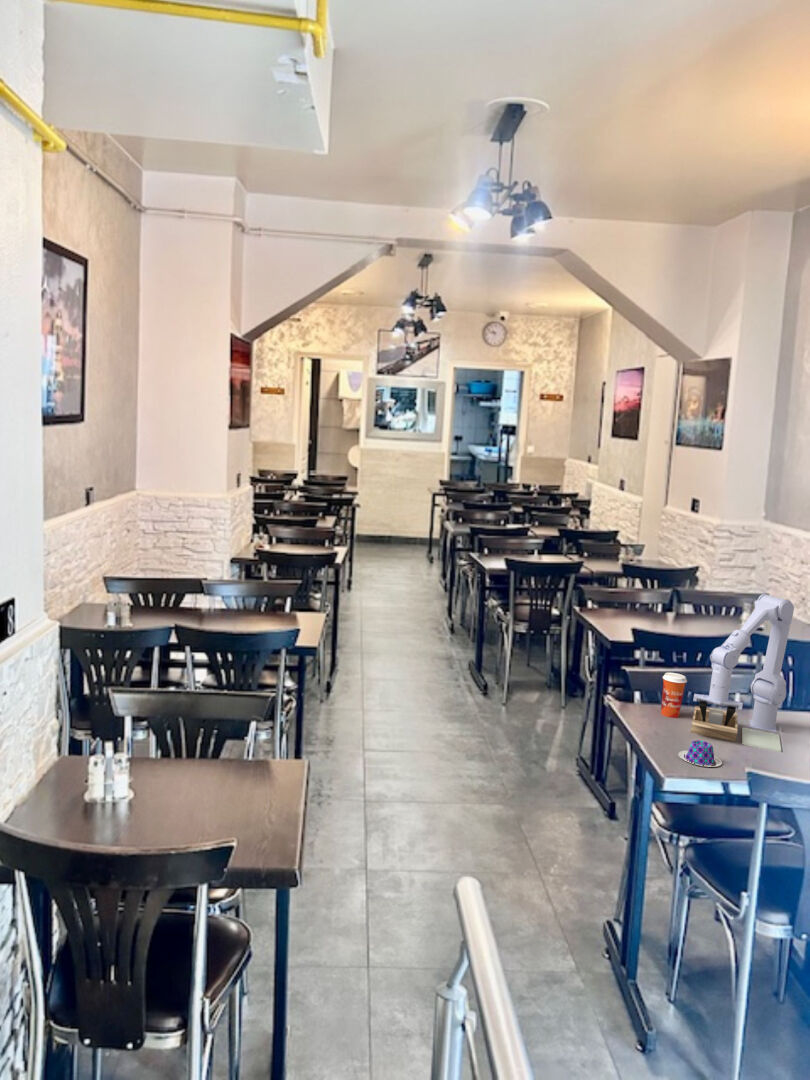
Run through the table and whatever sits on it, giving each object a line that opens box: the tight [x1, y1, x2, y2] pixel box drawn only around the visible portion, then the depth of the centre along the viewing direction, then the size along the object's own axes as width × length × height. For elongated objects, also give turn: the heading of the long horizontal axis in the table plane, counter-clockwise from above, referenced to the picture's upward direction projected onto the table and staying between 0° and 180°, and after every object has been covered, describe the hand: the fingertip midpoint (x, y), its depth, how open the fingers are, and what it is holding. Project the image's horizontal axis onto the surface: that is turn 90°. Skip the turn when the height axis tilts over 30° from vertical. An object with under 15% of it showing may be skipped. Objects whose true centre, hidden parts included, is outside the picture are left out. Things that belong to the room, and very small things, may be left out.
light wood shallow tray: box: [690, 705, 739, 742], centre depth 275 cm, size 21×13×4 cm, turn 159°
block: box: [708, 707, 724, 725], centre depth 275 cm, size 8×4×6 cm, turn 159°
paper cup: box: [660, 672, 688, 719], centre depth 287 cm, size 8×8×14 cm
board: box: [741, 727, 782, 753], centre depth 270 cm, size 16×11×1 cm
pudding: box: [677, 739, 723, 768], centre depth 249 cm, size 12×12×5 cm
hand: (714, 726), depth 274 cm, fingers open, 6 cm apart
